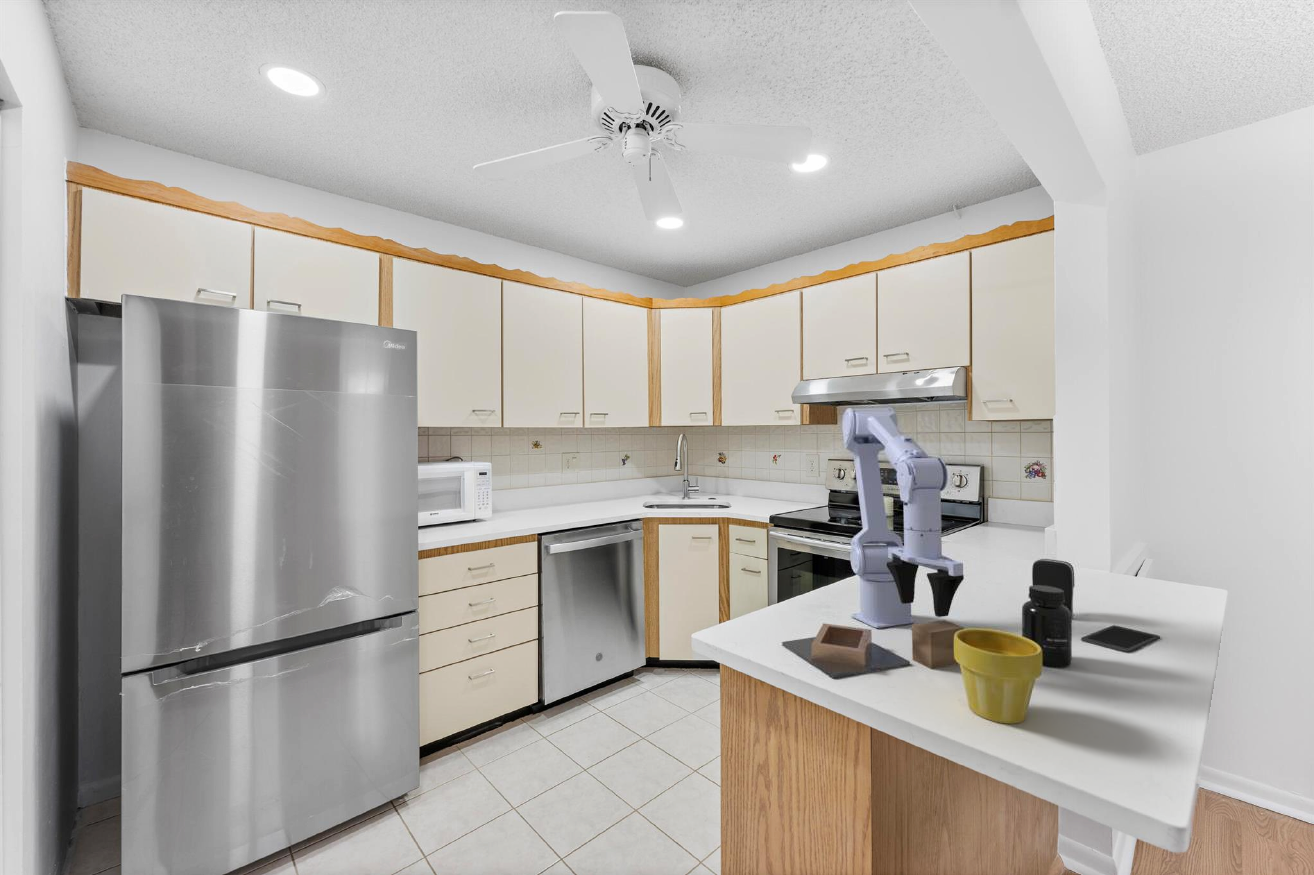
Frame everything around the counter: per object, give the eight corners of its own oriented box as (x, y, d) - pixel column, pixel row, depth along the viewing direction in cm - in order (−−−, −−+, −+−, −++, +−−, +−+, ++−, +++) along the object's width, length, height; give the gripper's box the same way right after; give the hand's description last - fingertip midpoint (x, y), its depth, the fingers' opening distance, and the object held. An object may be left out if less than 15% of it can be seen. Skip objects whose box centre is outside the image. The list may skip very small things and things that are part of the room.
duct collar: (850, 634, 105) (850, 618, 105) (909, 664, 91) (909, 646, 91) (782, 645, 101) (781, 628, 101) (833, 678, 86) (832, 659, 86)
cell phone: (1162, 639, 101) (1162, 635, 101) (1128, 655, 94) (1128, 651, 94) (1113, 628, 107) (1113, 624, 107) (1078, 642, 101) (1078, 638, 101)
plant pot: (1058, 716, 74) (1056, 643, 74) (1021, 740, 68) (1019, 661, 68) (978, 687, 82) (977, 622, 82) (939, 707, 77) (938, 637, 77)
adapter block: (912, 660, 93) (911, 624, 93) (944, 654, 95) (944, 619, 95) (931, 669, 89) (930, 632, 89) (964, 663, 92) (963, 627, 92)
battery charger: (1076, 616, 114) (1075, 561, 114) (1072, 620, 111) (1071, 564, 111) (1036, 609, 119) (1035, 556, 119) (1031, 613, 116) (1031, 558, 116)
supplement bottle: (1058, 671, 87) (1056, 596, 87) (1013, 657, 94) (1012, 586, 94) (1081, 663, 91) (1079, 590, 91) (1036, 649, 97) (1035, 581, 97)
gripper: (873, 524, 99) (874, 599, 99) (937, 537, 85) (939, 625, 85) (905, 521, 101) (906, 595, 101) (972, 534, 87) (974, 619, 87)
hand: (923, 609), depth 93 cm, fingers open, 7 cm apart
